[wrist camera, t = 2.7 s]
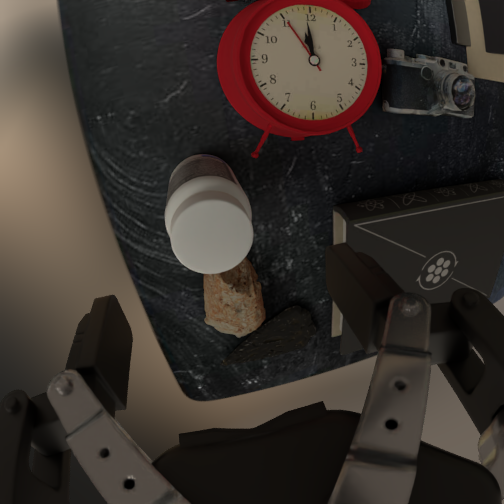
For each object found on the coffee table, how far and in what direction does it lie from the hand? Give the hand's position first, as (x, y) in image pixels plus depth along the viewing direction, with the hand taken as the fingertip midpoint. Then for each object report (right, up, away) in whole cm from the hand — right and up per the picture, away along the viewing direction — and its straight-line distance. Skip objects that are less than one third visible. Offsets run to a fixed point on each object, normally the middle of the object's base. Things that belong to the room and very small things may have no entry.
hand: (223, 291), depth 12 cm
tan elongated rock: (-1, -2, +15) cm, 15 cm away
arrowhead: (+7, -5, +18) cm, 20 cm away
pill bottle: (-2, +6, +11) cm, 13 cm away
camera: (+15, +15, +10) cm, 23 cm away
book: (+19, +1, +18) cm, 26 cm away
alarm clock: (+4, +16, +7) cm, 18 cm away
